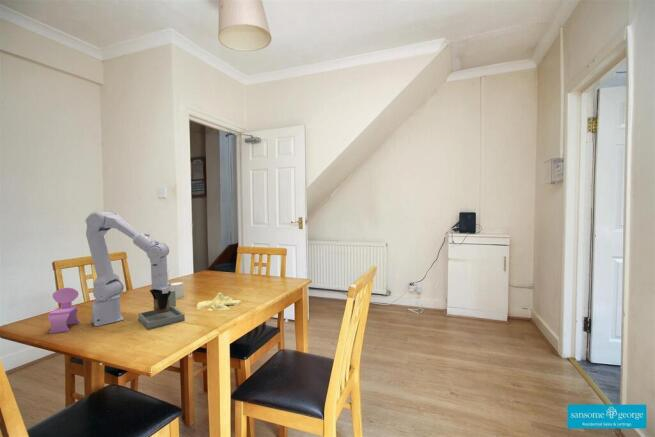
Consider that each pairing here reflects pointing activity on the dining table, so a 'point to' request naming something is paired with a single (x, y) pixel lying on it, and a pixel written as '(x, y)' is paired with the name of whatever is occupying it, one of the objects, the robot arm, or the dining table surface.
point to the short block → (156, 307)
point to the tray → (161, 318)
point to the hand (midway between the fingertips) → (160, 307)
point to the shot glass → (178, 289)
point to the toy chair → (63, 310)
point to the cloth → (218, 303)
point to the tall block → (172, 298)
